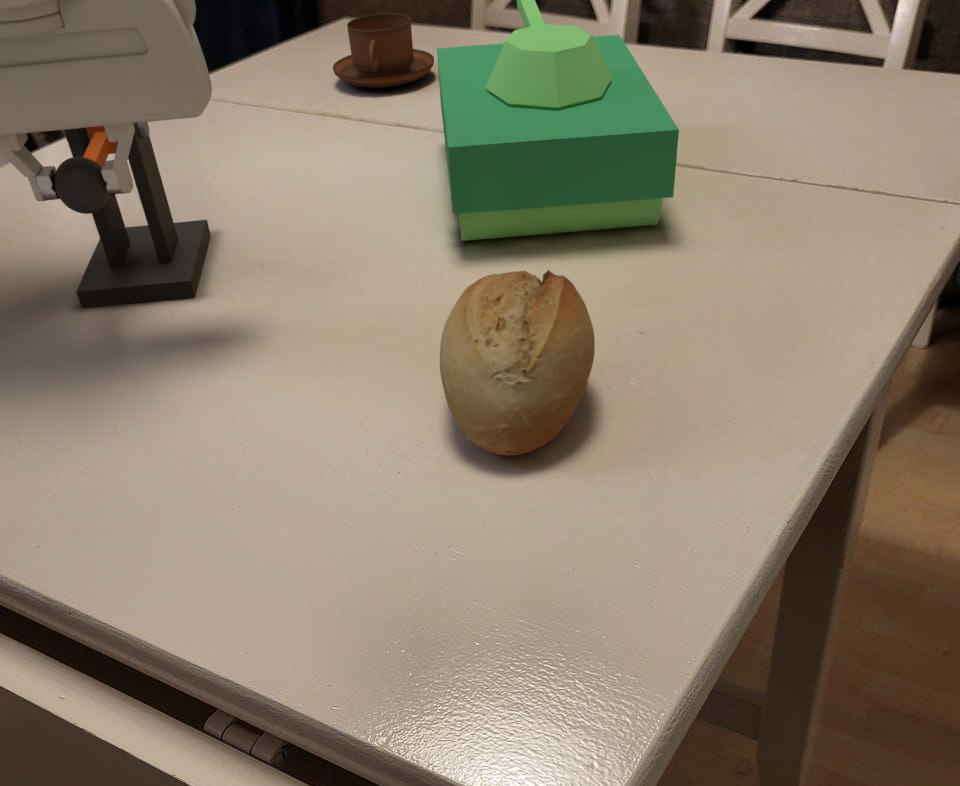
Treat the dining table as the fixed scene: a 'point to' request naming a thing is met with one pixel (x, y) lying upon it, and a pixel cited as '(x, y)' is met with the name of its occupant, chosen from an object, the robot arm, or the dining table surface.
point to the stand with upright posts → (140, 238)
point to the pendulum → (86, 175)
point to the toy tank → (553, 133)
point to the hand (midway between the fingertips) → (85, 194)
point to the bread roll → (516, 359)
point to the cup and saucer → (382, 53)
